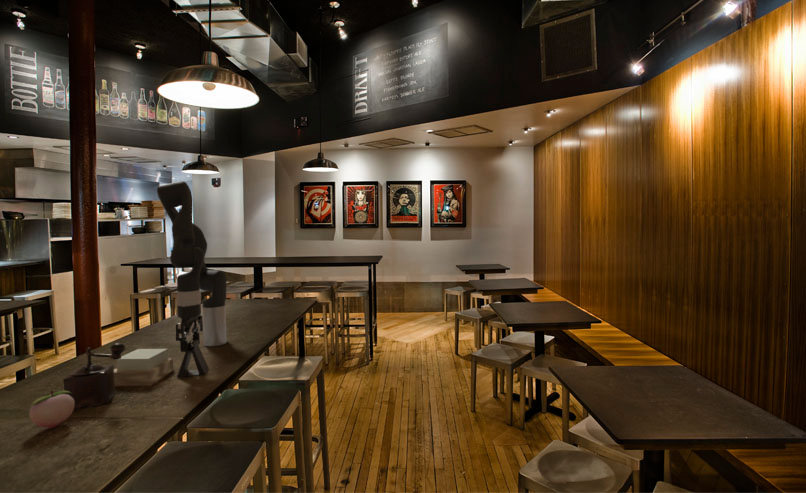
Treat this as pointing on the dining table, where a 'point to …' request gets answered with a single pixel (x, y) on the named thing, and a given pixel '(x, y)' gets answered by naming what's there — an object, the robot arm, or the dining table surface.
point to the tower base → (143, 375)
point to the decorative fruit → (52, 409)
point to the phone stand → (198, 359)
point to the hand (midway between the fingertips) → (190, 347)
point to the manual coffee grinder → (93, 380)
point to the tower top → (142, 359)
